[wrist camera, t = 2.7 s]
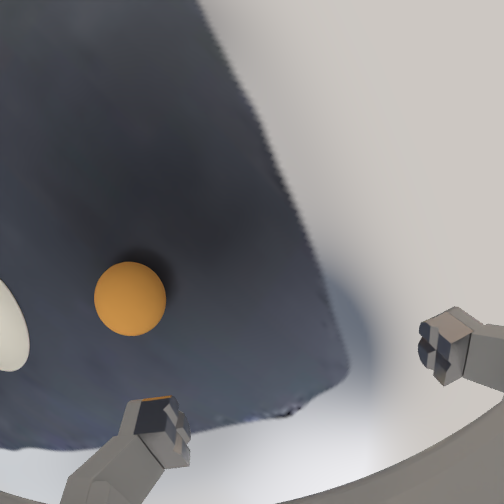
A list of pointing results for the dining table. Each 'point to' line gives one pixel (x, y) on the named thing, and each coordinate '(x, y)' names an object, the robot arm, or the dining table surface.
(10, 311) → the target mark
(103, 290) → the ball
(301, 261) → the dining table surface
